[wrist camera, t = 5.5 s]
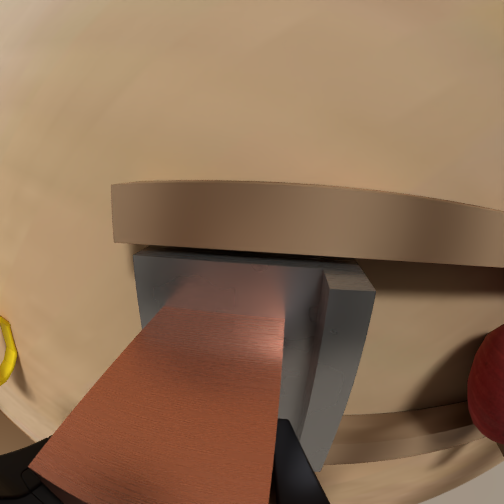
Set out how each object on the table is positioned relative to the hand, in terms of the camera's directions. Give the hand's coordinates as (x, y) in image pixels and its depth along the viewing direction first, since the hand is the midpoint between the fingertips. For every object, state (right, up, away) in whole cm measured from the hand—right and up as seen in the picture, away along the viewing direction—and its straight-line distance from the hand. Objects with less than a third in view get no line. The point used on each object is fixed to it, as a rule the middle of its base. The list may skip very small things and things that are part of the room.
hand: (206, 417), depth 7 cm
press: (+1, +1, +4) cm, 4 cm away
